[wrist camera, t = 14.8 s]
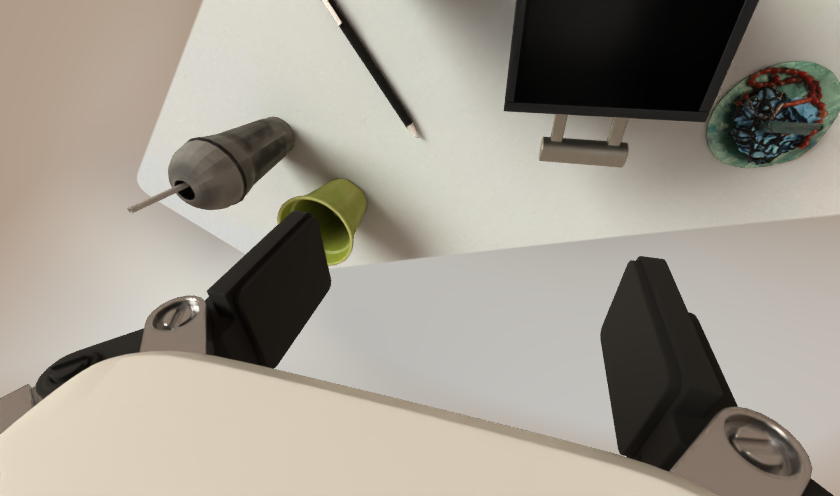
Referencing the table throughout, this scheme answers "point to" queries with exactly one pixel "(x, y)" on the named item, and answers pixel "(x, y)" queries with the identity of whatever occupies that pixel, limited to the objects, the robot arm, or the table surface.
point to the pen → (369, 64)
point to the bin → (619, 65)
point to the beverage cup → (225, 164)
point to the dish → (774, 115)
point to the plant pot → (332, 215)
